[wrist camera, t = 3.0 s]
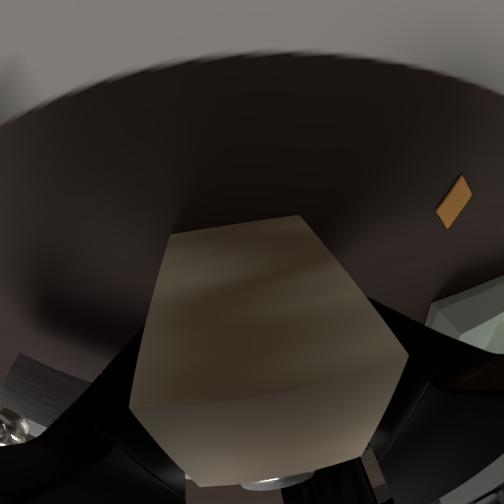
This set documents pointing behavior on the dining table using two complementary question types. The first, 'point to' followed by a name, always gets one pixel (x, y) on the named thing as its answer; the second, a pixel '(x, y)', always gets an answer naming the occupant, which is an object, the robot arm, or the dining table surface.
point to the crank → (62, 408)
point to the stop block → (261, 355)
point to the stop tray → (472, 316)
